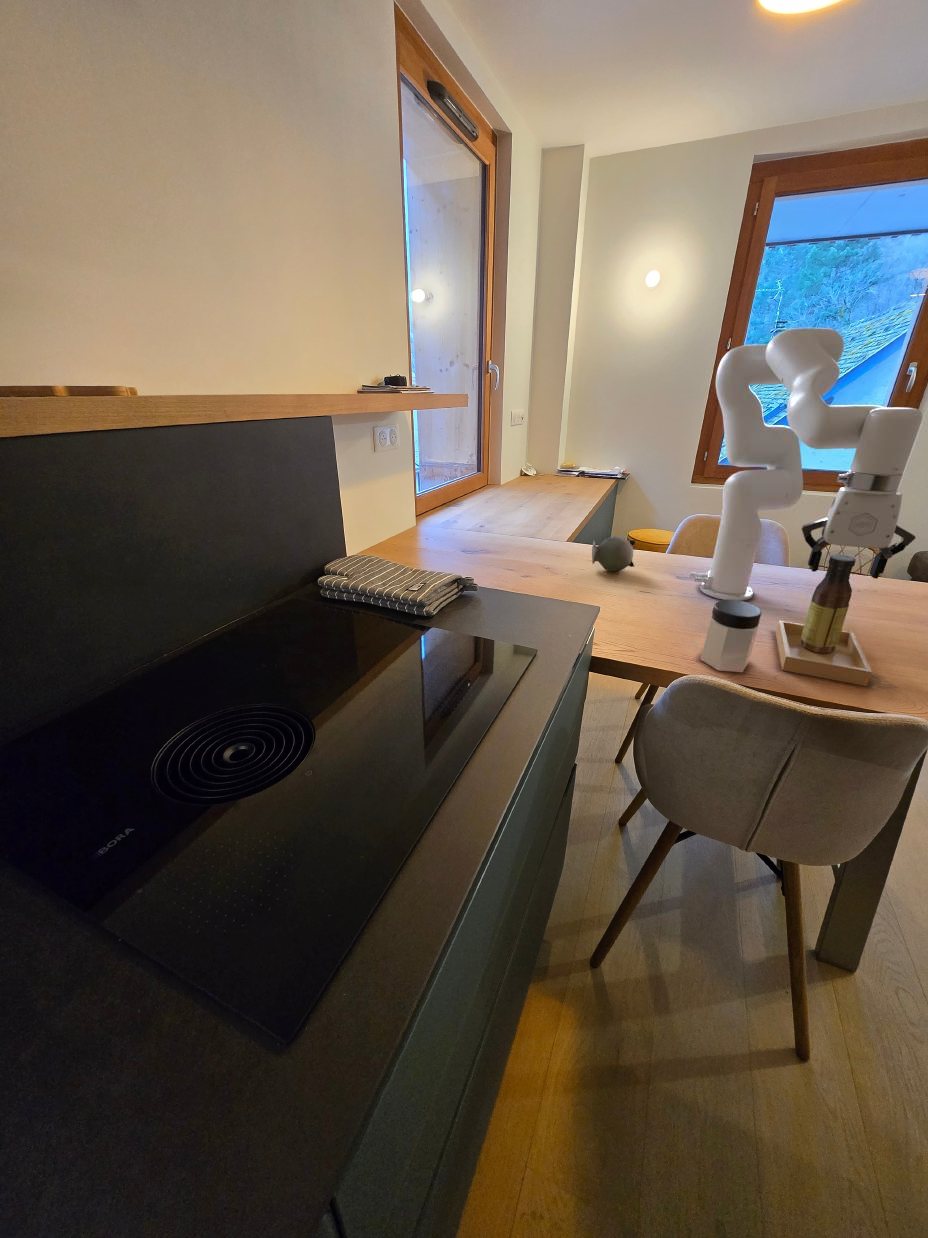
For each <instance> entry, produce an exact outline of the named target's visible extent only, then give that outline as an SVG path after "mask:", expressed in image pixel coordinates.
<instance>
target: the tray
mask: <svg viewBox="0 0 928 1238" xmlns="http://www.w3.org/2000/svg"><path fill="white" fill-rule="evenodd" d="M804 625H805V623H799V622H792V621H786V620H780V619H779V620H778V622H777V625H776V629H775V638H776V643H777V650H778V655H779V656H778V657H779V662H780V667H781V671H785V672H791V673H795V674H800V675H806V676H811V677H817V678H822V679H827V680H831V681H838V682H842V683H847V684H853V685H857V686H862V687H863V686H864V687H868V684H869V682H870V680H871V677H872V675H873V670H872V668H871V666H870V663H869V662H868V660H867V658H866V655H865V654H864V651H863V650H862V647H861V646H860V643H859V641H858V639H857V637H856V635H855V633H854V631H849V630H843V629H842V630H841V633H840V637H839V640H838V643H837V645H836V646H835V650H834V651H833V652H832V653H827V654H822V653H817V652H813V651H809V650H807V649H806V648H804V647H803V646H802V645H801V640H802V639H801V636H802V632H803V629H804Z"/></svg>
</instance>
